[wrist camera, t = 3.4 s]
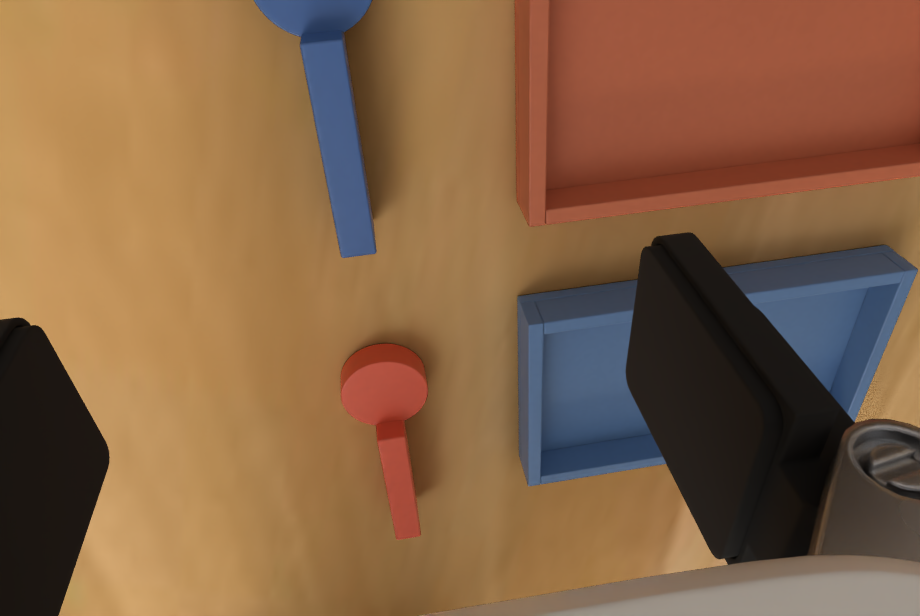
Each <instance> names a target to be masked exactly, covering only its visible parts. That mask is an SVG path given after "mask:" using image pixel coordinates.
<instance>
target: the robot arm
mask: <svg viewBox="0 0 920 616" xmlns="http://www.w3.org/2000/svg"><path fill="white" fill-rule="evenodd" d="M625 372H626V380H627V385H628V388H629V390H630V392H631V394H632V396H633V398H634V400H635V402H636V404H637V406H638V408H639V410H640V412H641V414H642V416H643V418H644V420H645V422H646V424H647V426H648V428H649V430H650V432H651V434H652V436H653V438H654V440H655V442H656V444H657V446H658V448H659V450H660V452H661V454H662V456H663V458H664V460H665V462H666V464H667V466H668V468H669V470H670V472H671V474H672V476H673V478H674V480H675V482H676V484H677V486H678V488H679V490H680V492H681V494H682V496H683V498H684V500H685V502H686V504H687V506H688V507H689V509H690V511H691V513H692V515H693V517H694V519H695V521H696V523H697V525H698V527H699V529H700V531H701V533H702V535H703V537H704V539H705V541H706V543H707V545H708V547H709V549H710V551H711V552H712V554H713V555H714V556H715V557H716V558H717V559H724V558H725V560H726V562H727V564H728V565H724V566H717V567H711V568H704V569H697V570H691V571H684V572H677V573H671V574H664V575H658V576H651V577H644V578H638V579H632V580H626V581H620V582H614V583H608V584H602V585H596V586H590V587H584V588H578V589H572V590H566V591H561V592H555V593H549V594H543V595H537V596H531V597H525V598H519V599H513V600H507V601H501V602H495V603H489V604H483V605H477V606H471V607H465V608H460V609H454V610H448V611H442V612H436V613H431V614H425V615H419V616H920V428H918V427H916V426H913V425H911V424H908V423H904V422H899V421H895V420H890V419H869V420H865V421H861V422H857V423H855V422H854V421H853V420H852V419H851V417H850V416H849V415H848V414H847V413H846V412H845V410H844V409H843V408H842V407H841V406H840V404H839V403H838V402H837V401H836V400H835V398H834V397H833V396H832V395H831V394H830V392H829V391H828V390H827V389H826V388H825V386H824V385H823V384H822V383H821V382H820V381H819V379H818V378H817V377H816V376H815V375H814V373H813V372H812V371H811V370H810V369H809V367H808V366H807V365H806V364H805V363H804V361H803V360H802V359H801V358H800V357H799V356H798V354H797V353H796V352H795V351H794V350H793V348H792V347H791V346H790V345H789V344H788V342H787V341H786V340H785V339H784V338H783V336H782V335H781V334H780V333H779V332H778V331H777V329H776V328H775V327H774V326H773V325H772V323H771V322H770V321H769V320H768V319H767V317H766V316H765V315H764V314H763V313H762V312H761V311H760V310H759V309H758V308H757V307H756V306H754V305H753V304H752V303H751V301H750V300H749V299H748V298H747V297H746V295H745V294H744V293H743V292H742V291H741V289H740V288H739V287H738V286H737V285H736V283H735V282H734V281H733V280H732V279H731V277H730V276H729V275H728V274H727V273H726V271H725V270H724V269H723V268H722V267H721V265H720V264H719V263H718V262H717V261H716V259H715V258H714V257H713V256H712V255H711V253H710V252H709V251H708V250H707V249H706V247H705V246H704V245H703V244H702V243H701V241H700V240H699V239H698V238H697V237H696V236H695V235H694V234H693V233H689V232H688V233H680V234H672V235H664V236H657V237H656V238H654V240H653V242H652V244H651V246H648V247H645V248H643V250H642V253H641V259H640V266H639V274H638V281H637V288H636V296H635V303H634V310H633V318H632V325H631V332H630V339H629V347H628V354H627V361H626V371H625ZM108 466H109V450H108V446H107V444H106V441H105V440H104V438H103V436H102V434H101V433H100V431H99V429H98V427H97V425H96V424H95V422H94V420H93V418H92V416H91V415H90V413H89V411H88V409H87V407H86V406H85V404H84V402H83V400H82V399H81V397H80V395H79V393H78V391H77V390H76V388H75V386H74V384H73V382H72V381H71V379H70V377H69V375H68V373H67V372H66V370H65V368H64V366H63V365H62V363H61V361H60V359H59V357H58V356H57V354H56V352H55V350H54V348H53V347H52V345H51V343H50V341H49V340H48V338H47V336H46V334H45V332H44V331H43V330H42V328H40V327H39V326H36V325H32V326H31V325H30V324H29V322H27V321H26V320H25V319H23V318H11V319H3V320H0V616H58V615H59V612H60V609H61V606H62V603H63V600H64V597H65V594H66V591H67V588H68V586H69V583H70V580H71V577H72V574H73V571H74V568H75V565H76V562H77V559H78V556H79V553H80V550H81V547H82V544H83V541H84V538H85V535H86V532H87V529H88V526H89V523H90V520H91V517H92V514H93V511H94V508H95V505H96V502H97V499H98V496H99V493H100V490H101V487H102V484H103V481H104V478H105V475H106V472H107V469H108Z"/></svg>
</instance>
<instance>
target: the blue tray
mask: <svg viewBox="0 0 920 616" xmlns="http://www.w3.org/2000/svg"><path fill="white" fill-rule="evenodd" d="M723 269H724V270H725V271H726V273H727V274H728V275H729V276H730V277H731V279H732V280H733V281H734V282H735V283H736V285H737V286H738V287H739V288H740V289H741V291H742V292H743V293H744V294H745V295H746V297H747V298H748V299H749V300H750V301H751V303H752V304H753V305H754V306H756V307H757V308H758V309H759V310H760V311H761V312H762V313H763V314H764V315H765V316H766V317H767V319H768V320H769V321H770V322H771V323H772V325H773V326H774V327H775V328H776V329H777V331H778V332H779V333H780V334H781V335H782V336H783V338H784V339H785V340H786V341H787V342H788V344H789V345H790V346H791V347H792V348H793V350H794V351H795V352H796V353H797V354H798V356H799V357H800V358H801V359H802V360H803V361H804V363H805V364H806V365H807V366H808V367H809V369H810V370H811V371H812V372H813V373H814V375H815V376H816V377H817V378H818V379H819V381H820V382H821V383H822V384H823V385H824V386H825V388H826V389H827V390H828V391H829V392H830V394H831V395H832V396H833V397H834V398H835V400H836V401H837V402H838V403H839V404H840V406H841V407H842V408H843V409H844V410H845V412H846V413H847V414H848V415H849V416H850V417H851V419H852V420H853V421H854V422H855V419H856V417H857V415H858V412H859V410H860V407H861V405H862V403H863V400H864V398H865V396H866V393H867V391H868V388H869V386H870V384H871V381H872V379H873V376H874V374H875V372H876V369H877V367H878V365H879V362H880V360H881V357H882V355H883V353H884V350H885V348H886V345H887V343H888V341H889V338H890V336H891V334H892V331H893V329H894V326H895V324H896V322H897V319H898V317H899V314H900V312H901V310H902V307H903V305H904V303H905V300H906V298H907V295H908V293H909V291H910V288H911V286H912V283H913V281H914V279H915V276H916V274H917V271H918V269H917V268H916V267H914V266H913V265H912V264H910V263H909V262H908V261H907V260H905V259H904V258H903V257H901V256H900V255H899V254H897V253H896V252H895V251H893V249H891V248H890V247H889V246H887V245H882V246H874V247H867V248H860V249H853V250H846V251H838V252H831V253H824V254H817V255H810V256H803V257H795V258H788V259H781V260H774V261H767V262H760V263H752V264H745V265H738V266H731V267H724V268H723ZM637 281H638V279H637V280H630V281H623V282H616V283H609V284H602V285H594V286H587V287H580V288H573V289H566V290H559V291H551V292H544V293H537V294H530V295H523V296H518V297H517V302H518V405H519V457H520V460H521V463H522V467H523V470H524V474H525V477H526V481H527V484H528V486H535V485H540V483H541V484H546V483H552V482H559V481H565V480H571V479H577V478H583V477H589V476H595V475H601V474H607V473H613V472H619V471H625V470H631V469H637V468H643V467H649V466H656V465H662V464H666V462H665V460H664V458H663V456H662V454H661V452H660V450H659V448H658V446H657V444H656V442H655V440H654V438H653V436H652V434H651V432H650V430H649V428H648V426H647V424H646V422H645V420H644V418H643V416H642V414H641V412H640V410H639V408H638V406H637V404H636V402H635V400H634V398H633V396H632V394H631V392H630V390H629V388H628V385H627V380H626V372H625V371H626V361H627V354H628V347H629V339H630V332H631V325H632V318H633V310H634V303H635V296H636V288H637Z"/></svg>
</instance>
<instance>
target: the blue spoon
mask: <svg viewBox="0 0 920 616" xmlns="http://www.w3.org/2000/svg"><path fill="white" fill-rule="evenodd" d="M254 2H255V3H256V5H257V6H258V7H259V9H260V10H261V11H262V12H263V14H264V15H265V16H266V17H267V18H268V19H269V20H270V21H272V22H273V23H274V24H275V25H277V26H278V27H280V28H281V29H283V30H285V31H287V32H289V33H291V34H294V35H296V36H299V37H301V42H300V49H301V54H302V59H303V64H304V69H305V74H306V80H307V85H308V90H309V95H310V100H311V105H312V110H313V115H314V121H315V126H316V131H317V136H318V141H319V146H320V151H321V156H322V162H323V167H324V172H325V177H326V182H327V187H328V192H329V197H330V202H331V208H332V213H333V218H334V223H335V228H336V233H337V238H338V243H339V249H340V254H341V257H342V258H347V257H354V256H362V255H369V254H375V253H376V242H375V232H374V222H373V216H372V209H371V203H370V196H369V190H368V183H367V177H366V171H365V164H364V158H363V151H362V145H361V138H360V132H359V125H358V119H357V113H356V106H355V100H354V93H353V87H352V80H351V74H350V68H349V61H348V55H347V48H346V42H345V35H344V32H346V31H347V30H349V29H350V28H352V27H353V26H354V25H355V24H356V23H358V22H359V21H360V19H361V18H362V17H363V16H364V15H365V13H366V11H367V10H368V8H369V6H370V4H371V2H372V0H254Z"/></svg>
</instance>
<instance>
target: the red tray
mask: <svg viewBox="0 0 920 616" xmlns="http://www.w3.org/2000/svg"><path fill="white" fill-rule="evenodd" d="M515 89H516V193H517V203H518V205H519V206H520V209H521V211H522V213H523V215H524V217H525V219H526V221H527V223H528V225H529V226H530V227H532V226H540V225H545V223H546V224H547V225H548V224H556V223H564V222H571V221H579V220H587V219H594V218H602V217H610V216H617V215H625V214H633V213H640V212H648V211H656V210H663V209H671V208H679V207H686V206H694V205H702V204H709V203H717V202H725V201H732V200H740V199H748V198H755V197H763V196H771V195H778V194H786V193H794V192H801V191H809V190H817V189H825V188H832V187H840V186H848V185H855V184H863V183H871V182H878V181H886V180H894V179H901V178H909V177H917V176H920V0H515Z"/></svg>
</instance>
